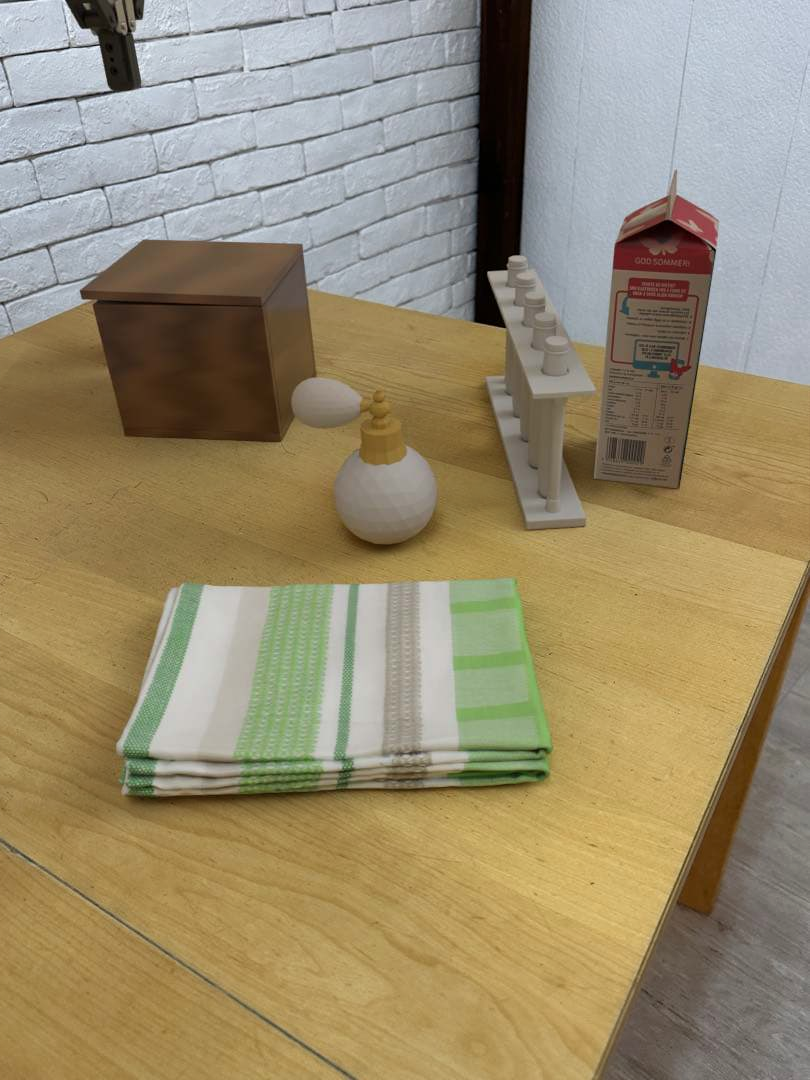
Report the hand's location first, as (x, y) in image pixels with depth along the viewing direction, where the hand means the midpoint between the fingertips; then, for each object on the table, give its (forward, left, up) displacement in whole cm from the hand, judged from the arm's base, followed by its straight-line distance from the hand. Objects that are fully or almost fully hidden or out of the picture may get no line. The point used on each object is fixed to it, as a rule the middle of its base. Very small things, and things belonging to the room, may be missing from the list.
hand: (125, 88), depth 71 cm
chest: (+4, 0, -27) cm, 28 cm away
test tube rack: (+33, -6, -28) cm, 43 cm away
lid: (+3, 0, -15) cm, 15 cm away
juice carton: (+42, -8, -28) cm, 51 cm away
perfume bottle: (+22, -20, -28) cm, 40 cm away
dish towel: (+23, -36, -28) cm, 51 cm away
